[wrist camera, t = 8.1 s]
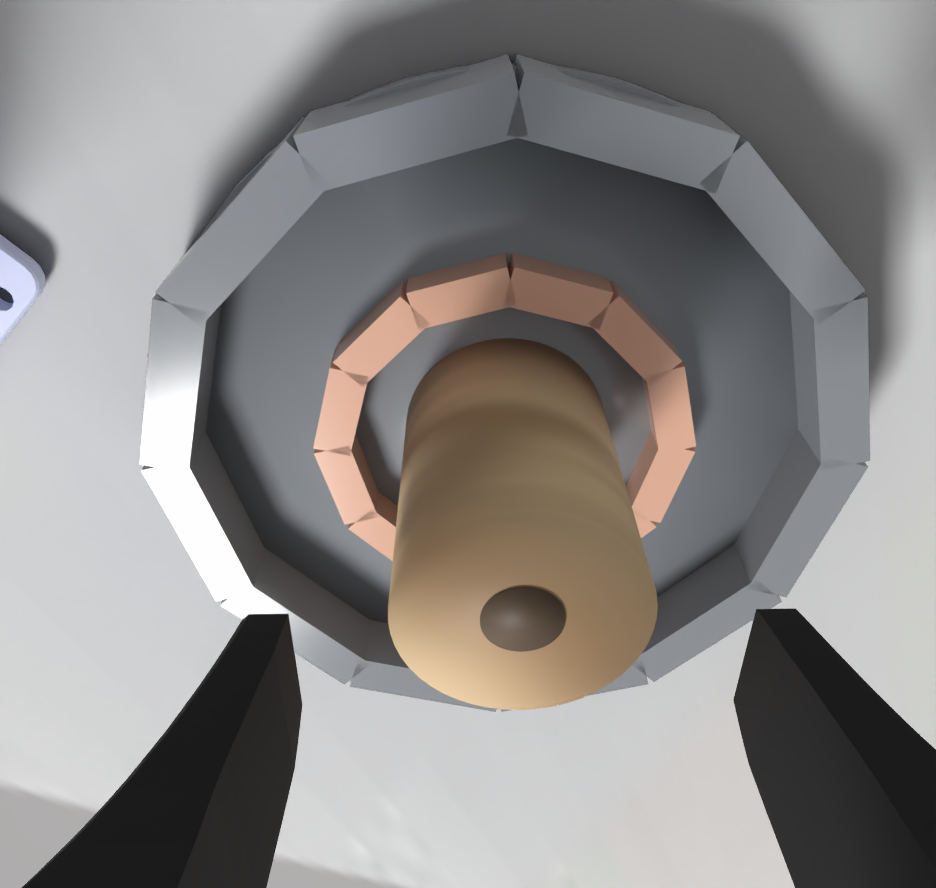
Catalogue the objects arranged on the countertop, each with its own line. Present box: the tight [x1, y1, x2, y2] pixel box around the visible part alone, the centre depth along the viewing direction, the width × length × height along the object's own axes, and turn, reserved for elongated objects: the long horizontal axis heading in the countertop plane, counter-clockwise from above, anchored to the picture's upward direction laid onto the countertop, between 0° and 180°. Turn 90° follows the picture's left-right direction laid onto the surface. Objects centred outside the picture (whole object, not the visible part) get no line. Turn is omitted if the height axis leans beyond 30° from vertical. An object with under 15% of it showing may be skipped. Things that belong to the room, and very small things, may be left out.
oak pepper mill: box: [388, 338, 658, 710], centre depth 16 cm, size 4×4×6 cm
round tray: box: [140, 54, 870, 712], centre depth 19 cm, size 15×15×2 cm
